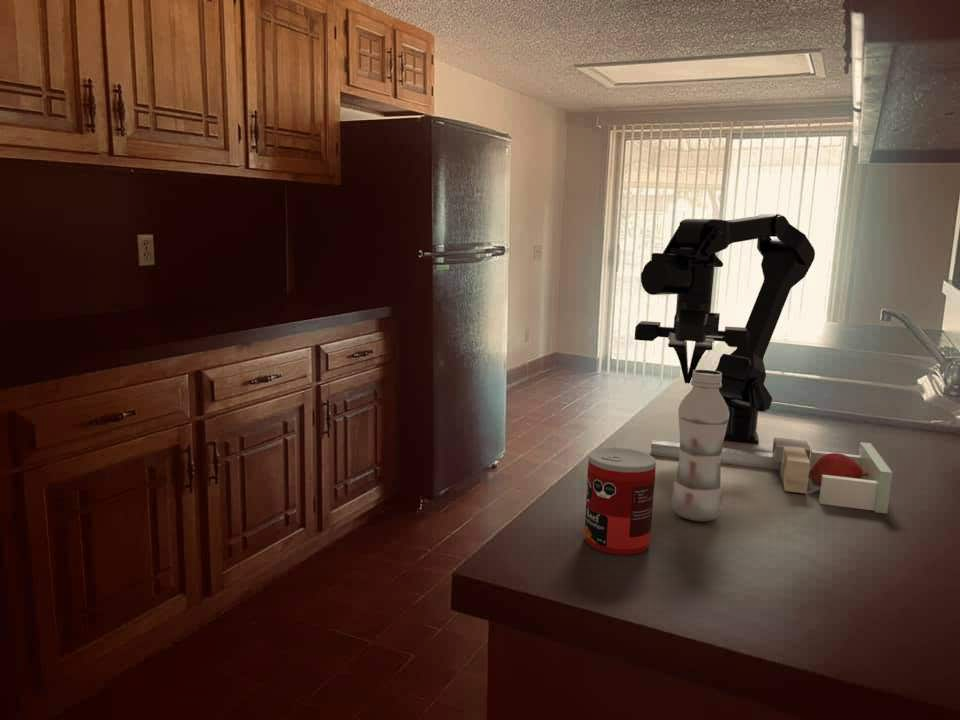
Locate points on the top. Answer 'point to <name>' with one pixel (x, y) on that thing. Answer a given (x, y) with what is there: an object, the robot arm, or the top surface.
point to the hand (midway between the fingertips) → (687, 382)
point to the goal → (858, 482)
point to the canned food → (619, 500)
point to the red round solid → (836, 467)
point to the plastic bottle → (701, 448)
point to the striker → (793, 463)
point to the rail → (722, 455)
